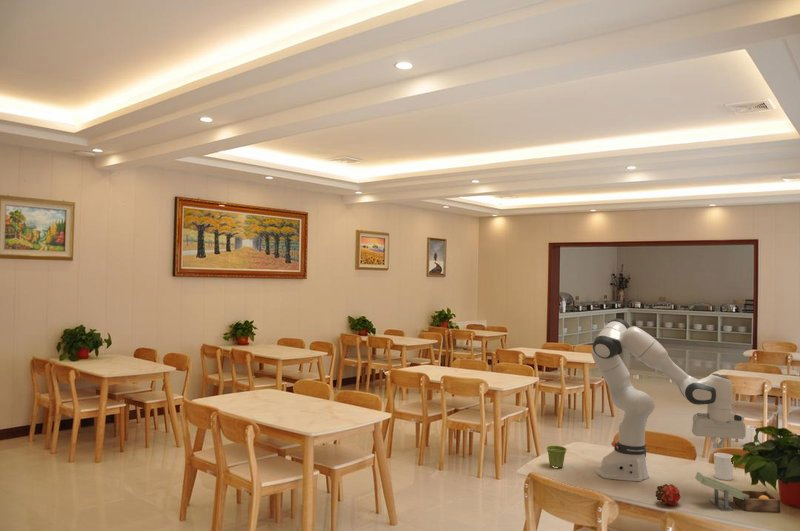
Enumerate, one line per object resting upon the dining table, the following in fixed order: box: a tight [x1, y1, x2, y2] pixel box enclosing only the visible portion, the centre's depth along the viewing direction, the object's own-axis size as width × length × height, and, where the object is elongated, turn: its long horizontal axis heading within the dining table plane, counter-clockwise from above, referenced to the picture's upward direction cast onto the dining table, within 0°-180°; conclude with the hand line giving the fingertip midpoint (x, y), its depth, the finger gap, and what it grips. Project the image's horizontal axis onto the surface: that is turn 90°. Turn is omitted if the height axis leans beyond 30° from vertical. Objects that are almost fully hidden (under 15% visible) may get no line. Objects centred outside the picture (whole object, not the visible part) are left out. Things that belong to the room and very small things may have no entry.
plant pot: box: [546, 445, 568, 467], centre depth 288 cm, size 9×9×9 cm
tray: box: [732, 489, 781, 513], centre depth 238 cm, size 13×10×4 cm
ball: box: [758, 495, 769, 499], centre depth 238 cm, size 4×4×4 cm
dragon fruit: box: [655, 483, 682, 507], centre depth 241 cm, size 8×8×12 cm
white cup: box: [713, 452, 734, 481], centre depth 273 cm, size 8×8×10 cm
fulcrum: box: [709, 488, 734, 512], centre depth 240 cm, size 4×10×7 cm, turn 175°
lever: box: [694, 471, 749, 500], centre depth 243 cm, size 18×13×3 cm
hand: (717, 448), depth 250 cm, fingers closed
